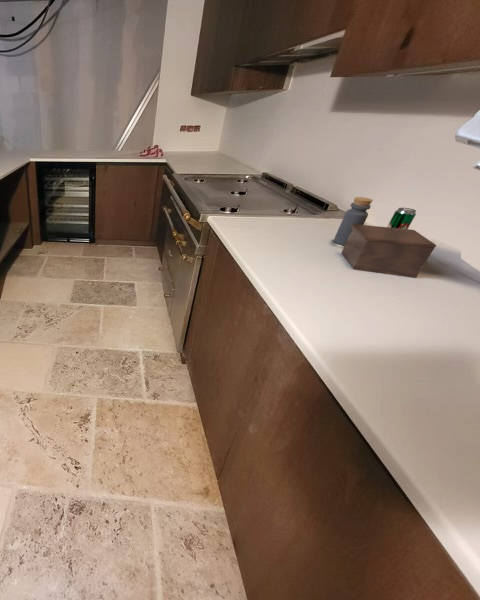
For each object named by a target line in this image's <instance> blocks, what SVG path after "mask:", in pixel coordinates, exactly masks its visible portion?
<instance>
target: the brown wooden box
mask: <svg viewBox="0 0 480 600" xmlns="http://www.w3.org/2000/svg"><path fill="white" fill-rule="evenodd" d="M434 250H435V248H431V247H422V246H413V245H404V244H395V243H385V242H376V241H367V240H364V239H363V238H362V237H361V236H360V235H359V234H358V233H357V232H356V231H355V230H354V229H352V231H351V233H350V235H349V237H348V239H347V241H346V244H345V245H343V248H342V250H341V256H343V258H344V259H345V260H346V262H347V263H348V264H349V266H350V267H351V268H352V269H353V270H357V271H363V272H364V271H365V272H372V273H378V274H386V275H393V276H400V277H402V276H403V277H409V278H414V279H416V278H417V277H418V275H419V274H420V272H421V271H422V269H423V267H424V266H425V264H426V262H427V261H428V260H429V258H430V256H431V255H432V253H433V252H434Z"/></svg>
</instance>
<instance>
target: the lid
mask: <svg viewBox="0 0 480 600" xmlns="http://www.w3.org/2000/svg"><path fill="white" fill-rule="evenodd" d="M351 227H352V228H353V229H354V230H355V231H356V232H357V233H358V234H359V235H360V236H361V237H362V238H363V239H364V240H367V241H376V242H385V243H395V244H404V245H413V246H422V247H431V248H434V249H435V248H436V247H437V244H436V243H434V241H433V242H432V241H431V240H430V239H428V238H426V236H424V235H422V234H421V233H420V232H419V231H417V230H415V229H409V228H408V229H400V228H389V227H387V226H380V225H379V226H378V225H366V224H364V225H358V224H351Z"/></svg>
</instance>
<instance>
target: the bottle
mask: <svg viewBox="0 0 480 600" xmlns="http://www.w3.org/2000/svg"><path fill="white" fill-rule="evenodd" d="M373 201H374V200H373V199H372V198H368V197H363V196H355V197H354V199H353V202H351V203H350V207H351V208H350V209H347V210H346V211H345V214H344V216H343V218H342V220H341V223H340V225H339V227H338V229H337V232H336V233H335V236H334V238H333V242H334V243H335V244H337V245H341V246H345V244H346V241H347V239H348V237H349V235H350V233H351V231H352V229H353V228H352V227H351V224H358V225H365V223H366V221H367V218H368V216H369V212H367V211H368V210H370V209H371V207H372V206H371V204H372V202H373Z"/></svg>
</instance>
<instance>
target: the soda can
mask: <svg viewBox="0 0 480 600" xmlns="http://www.w3.org/2000/svg"><path fill="white" fill-rule="evenodd" d="M416 212H417V210H416V209H414V208H409V207H398V209H396V210H395V211H394V213H393V215H392V217H391V218H390V219H389V223H388V224H387V226H386V227H389V228H400V229H409V228H410V227H411V224H412V222H413V221H414V219H415V217H416V214H417V213H416Z"/></svg>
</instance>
